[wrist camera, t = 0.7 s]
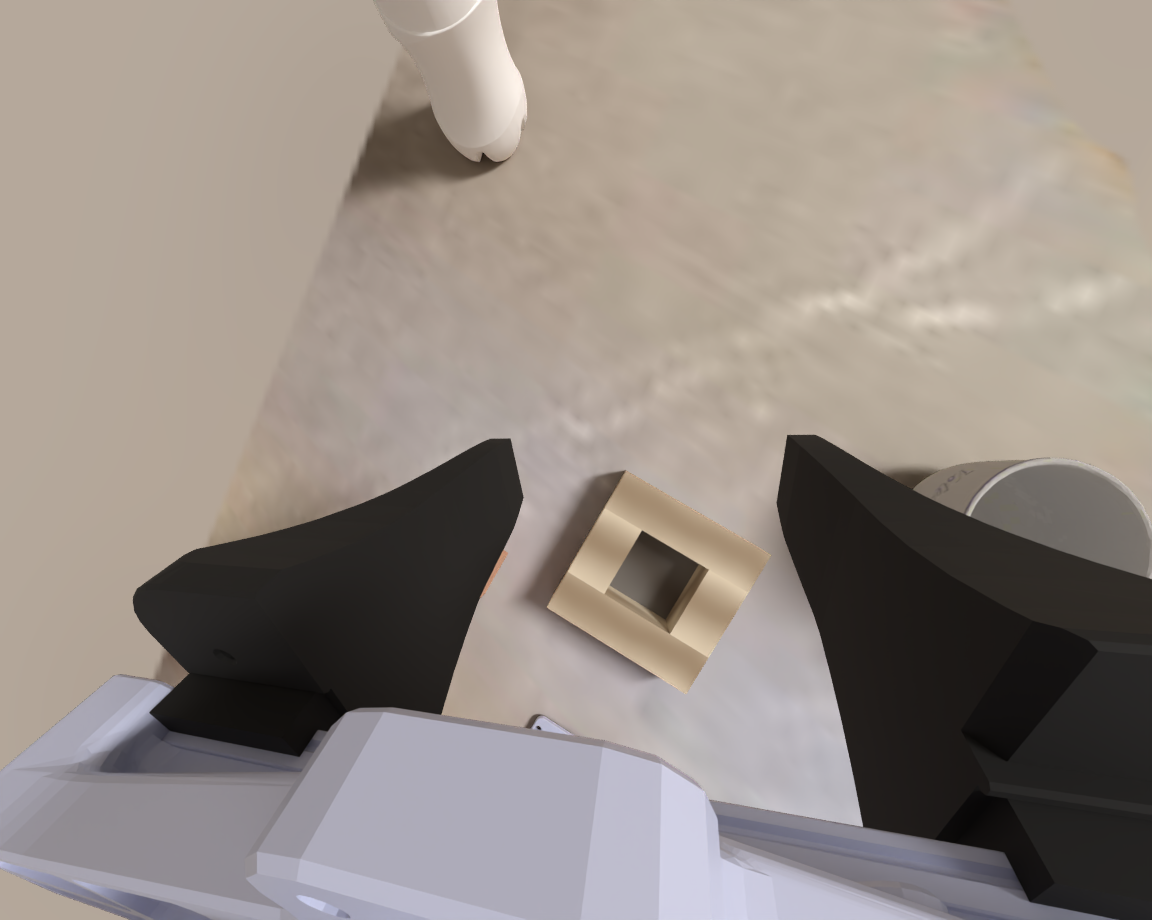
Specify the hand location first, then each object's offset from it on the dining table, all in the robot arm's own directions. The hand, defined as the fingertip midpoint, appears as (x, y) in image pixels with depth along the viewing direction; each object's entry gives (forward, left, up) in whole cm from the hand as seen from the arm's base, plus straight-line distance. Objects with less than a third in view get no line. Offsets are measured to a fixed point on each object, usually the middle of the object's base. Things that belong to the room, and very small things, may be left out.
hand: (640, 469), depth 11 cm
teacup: (+7, -24, -23) cm, 34 cm away
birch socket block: (-6, -6, -23) cm, 25 cm away
